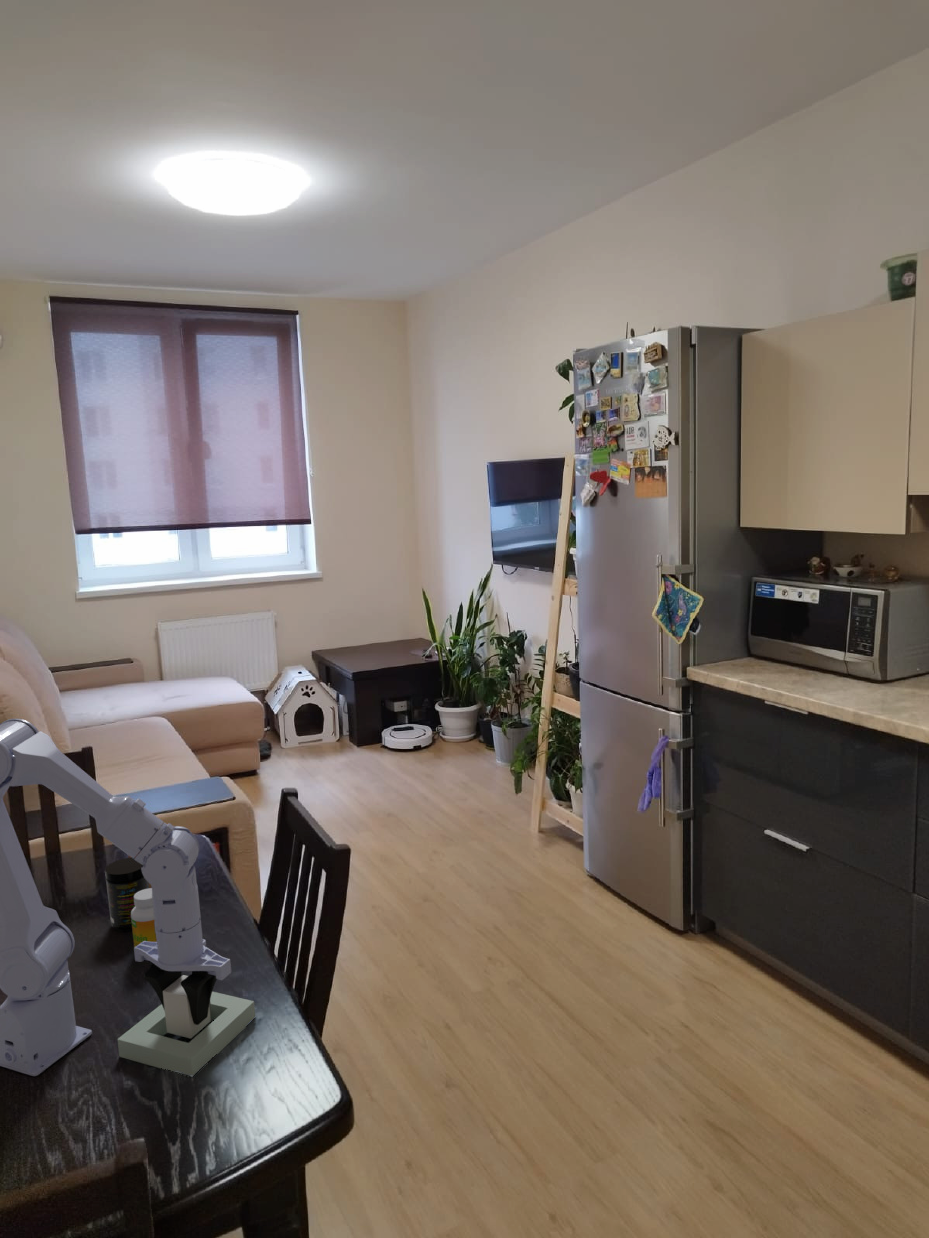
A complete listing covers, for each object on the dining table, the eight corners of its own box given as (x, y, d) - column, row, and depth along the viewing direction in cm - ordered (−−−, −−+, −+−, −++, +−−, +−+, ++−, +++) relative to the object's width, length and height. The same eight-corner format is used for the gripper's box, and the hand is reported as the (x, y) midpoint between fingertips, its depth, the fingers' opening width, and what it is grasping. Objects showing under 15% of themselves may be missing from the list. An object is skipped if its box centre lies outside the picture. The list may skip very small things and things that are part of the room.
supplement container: (159, 922, 149) (153, 865, 147) (119, 937, 145) (112, 878, 143) (144, 909, 154) (138, 853, 152) (105, 922, 150) (98, 865, 148)
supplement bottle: (127, 954, 139) (121, 897, 137) (153, 938, 144) (147, 883, 142) (151, 962, 136) (145, 904, 135) (177, 945, 141) (171, 889, 140)
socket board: (192, 1077, 109) (190, 1059, 109) (119, 1056, 114) (117, 1038, 113) (255, 1017, 121) (254, 1001, 120) (186, 1000, 125) (185, 985, 125)
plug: (190, 1038, 115) (186, 996, 114) (167, 1032, 116) (162, 990, 115) (216, 1015, 119) (212, 975, 118) (193, 1010, 121) (189, 970, 120)
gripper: (242, 916, 115) (250, 1010, 118) (156, 900, 121) (165, 990, 123) (207, 942, 109) (216, 1041, 111) (118, 924, 115) (129, 1018, 117)
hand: (187, 1016), depth 117 cm, fingers closed on plug, 4 cm apart
